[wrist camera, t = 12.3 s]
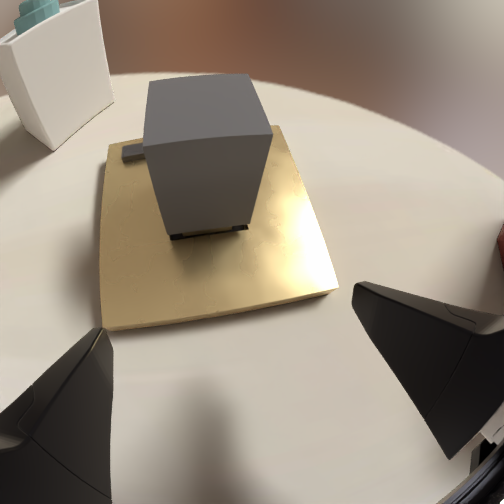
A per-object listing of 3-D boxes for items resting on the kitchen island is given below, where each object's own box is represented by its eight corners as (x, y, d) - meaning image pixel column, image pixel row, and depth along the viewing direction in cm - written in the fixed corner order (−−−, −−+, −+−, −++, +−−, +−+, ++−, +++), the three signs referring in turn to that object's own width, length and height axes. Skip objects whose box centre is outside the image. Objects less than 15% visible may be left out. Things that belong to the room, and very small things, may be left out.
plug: (246, 238, 18) (273, 134, 9) (172, 249, 17) (142, 146, 8) (233, 180, 19) (247, 73, 11) (167, 188, 18) (149, 81, 10)
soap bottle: (78, 87, 23) (53, -38, 6) (116, 101, 23) (96, -59, 5) (25, 130, 20) (-23, 2, 3) (54, 152, 19) (-7, -18, 2)
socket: (329, 293, 17) (342, 284, 15) (111, 331, 14) (98, 326, 12) (275, 137, 22) (280, 120, 20) (113, 157, 19) (107, 139, 18)
